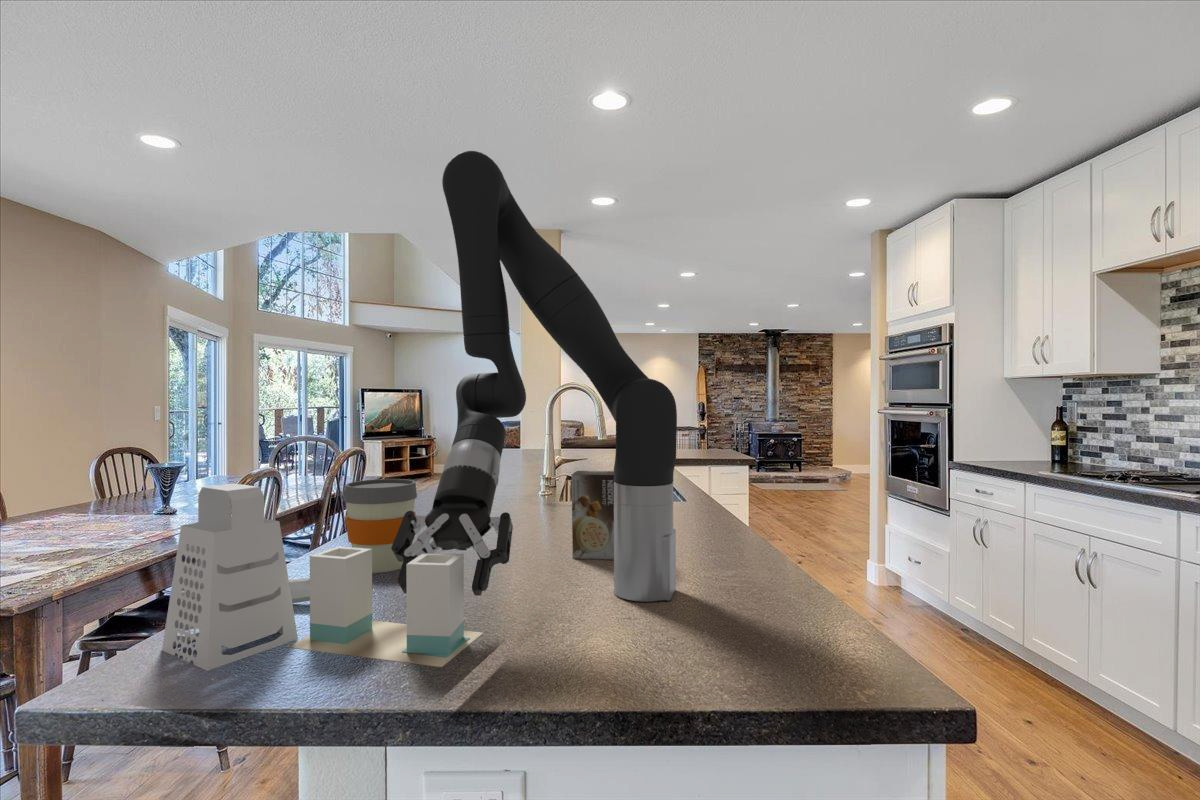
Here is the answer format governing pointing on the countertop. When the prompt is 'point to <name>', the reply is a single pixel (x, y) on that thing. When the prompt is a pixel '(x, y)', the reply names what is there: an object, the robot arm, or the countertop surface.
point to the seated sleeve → (340, 594)
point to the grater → (229, 579)
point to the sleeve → (435, 603)
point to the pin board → (385, 645)
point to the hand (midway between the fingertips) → (440, 591)
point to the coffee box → (593, 514)
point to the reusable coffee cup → (378, 517)
